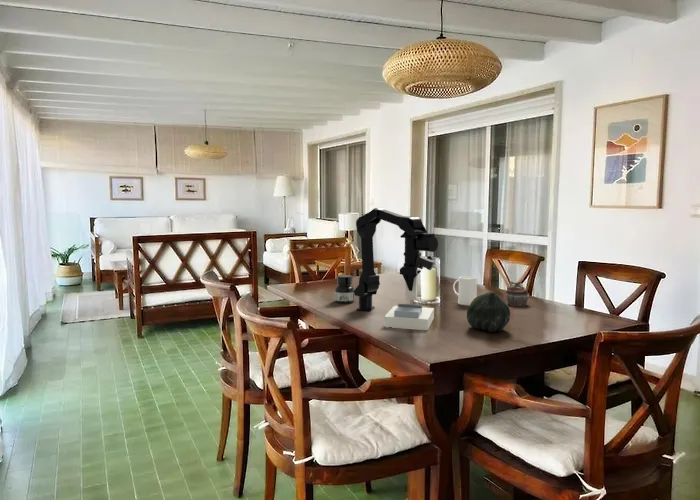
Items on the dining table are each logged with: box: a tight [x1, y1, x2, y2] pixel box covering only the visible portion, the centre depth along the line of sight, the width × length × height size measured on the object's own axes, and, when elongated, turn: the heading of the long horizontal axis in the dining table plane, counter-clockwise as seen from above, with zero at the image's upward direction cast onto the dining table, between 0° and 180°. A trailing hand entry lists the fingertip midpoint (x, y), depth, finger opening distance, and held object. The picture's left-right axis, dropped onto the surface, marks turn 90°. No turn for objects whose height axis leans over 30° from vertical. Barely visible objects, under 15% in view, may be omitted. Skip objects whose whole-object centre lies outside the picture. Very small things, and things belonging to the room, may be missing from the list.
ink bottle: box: [334, 274, 355, 304], centre depth 228 cm, size 10×9×12 cm
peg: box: [405, 274, 419, 301], centre depth 193 cm, size 4×4×10 cm
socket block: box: [383, 305, 435, 331], centre depth 191 cm, size 19×16×4 cm
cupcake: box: [505, 281, 530, 307], centre depth 223 cm, size 10×10×10 cm
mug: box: [452, 275, 478, 306], centre depth 226 cm, size 12×8×12 cm
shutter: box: [394, 303, 423, 318], centre depth 187 cm, size 8×9×3 cm
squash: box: [466, 291, 511, 333], centre depth 180 cm, size 14×15×15 cm
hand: (411, 289), depth 193 cm, fingers closed on peg, 4 cm apart
